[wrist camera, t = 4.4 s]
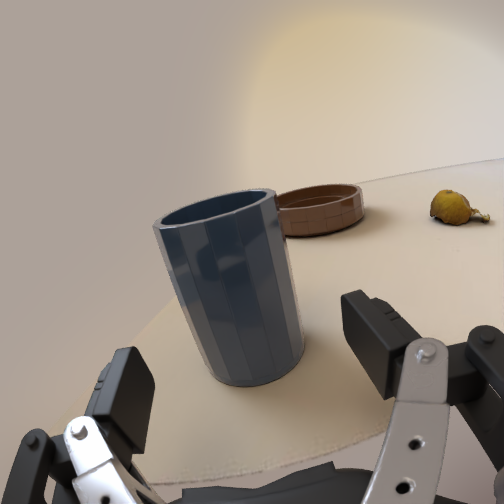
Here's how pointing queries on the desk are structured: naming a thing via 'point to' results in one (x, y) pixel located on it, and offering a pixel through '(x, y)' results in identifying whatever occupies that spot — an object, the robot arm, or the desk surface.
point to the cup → (235, 284)
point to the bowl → (320, 209)
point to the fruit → (453, 208)
